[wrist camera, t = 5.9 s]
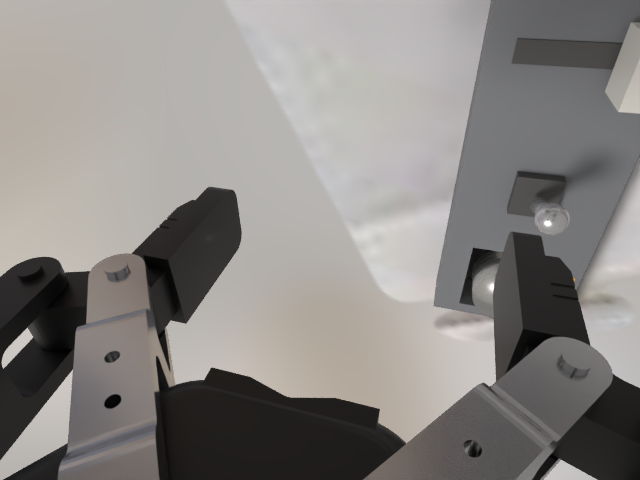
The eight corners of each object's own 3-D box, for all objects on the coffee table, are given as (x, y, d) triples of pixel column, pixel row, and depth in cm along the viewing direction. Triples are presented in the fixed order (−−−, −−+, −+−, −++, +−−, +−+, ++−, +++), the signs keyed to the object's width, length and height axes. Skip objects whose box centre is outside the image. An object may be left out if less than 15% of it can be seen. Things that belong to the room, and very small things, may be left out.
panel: (496, -26, 23) (498, -15, 21) (691, -22, 21) (724, -10, 18) (436, 280, 37) (432, 312, 34) (553, 301, 35) (559, 336, 32)
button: (479, 244, 31) (479, 268, 29) (545, 254, 30) (550, 279, 28) (467, 288, 34) (466, 313, 32) (528, 299, 33) (531, 326, 31)
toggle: (526, 188, 25) (541, 204, 21) (555, 192, 25) (577, 209, 21) (519, 215, 26) (533, 236, 22) (549, 219, 26) (568, 241, 21)
